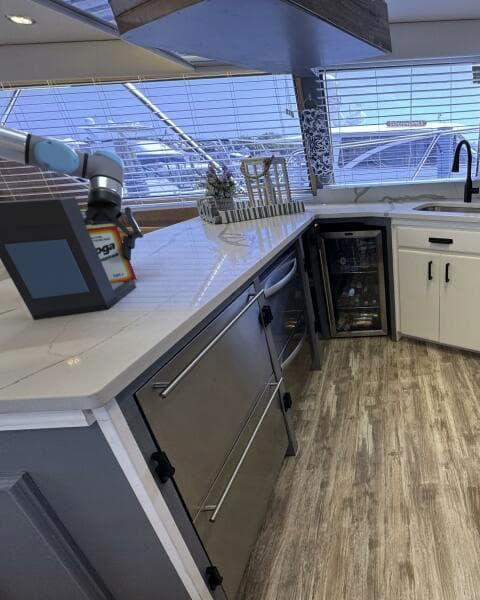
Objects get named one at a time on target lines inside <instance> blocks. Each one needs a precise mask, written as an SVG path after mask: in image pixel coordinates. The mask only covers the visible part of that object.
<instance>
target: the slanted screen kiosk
mask: <svg viewBox="0 0 480 600" xmlns="http://www.w3.org/2000/svg"><path fill="white" fill-rule="evenodd" d="M82 212H83V211H82V210H81V208H80V205H79V203H78V200H77V197H75V196H72V197H71V196H70V197H55V198H53V197H52V198H38V199H20V200H2V201H1V200H0V261H1V263H2V264H3V266H4V268H5V270H6V272H7V273H8V276H9V277H10V279H11V281H12V283H13V284H14V286H15V289H16V290H17V291H18V294H19V295H20V297H21V299H22V301H23V302H24V304H25V307H26V308H27V310H28V312H29V314H30V316H31V318H32V319H33V321H36V320H43V319H50V318H56V317H57V318H58V317H64V316H65V317H66V316H72V315H79V314H85V313H86V314H87V313H93V312H100V311H108V310H110V309H111V308H112V307H114V306H115V305H116V304H118V303H119V302H120V301H121V300H123V298H125V297H126V296H127V295H128V294H130V293H131V292H132V291H133V290H135V289H136V288H137V285H136V283H135V282H134V281H128V282H117V283H110V281H109V279H108V276H107V274H106V272H105V269H104V267H103V265H102V262H101V260H100V258H99V255H98V253H97V251H96V248H95V246H94V244H93V241H92V239H91V236H90V234H89V232H88V229H87V227H86V225H85V222H84V220H85V218H84V217H83V215H82Z"/></svg>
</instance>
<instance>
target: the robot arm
mask: <svg viewBox="0 0 480 600" xmlns="http://www.w3.org/2000/svg"><path fill="white" fill-rule="evenodd" d="M0 159H3V160H7V161H11V162H14V163H15V162H16V163H19V164H23V165H27V166H30V167H35V168H39V169H42V170H46V171H50V172H52V173H55V174H56V173H57V174H62V175H63V174H64V175H68V176H72V177H77V178H81V179H84V180H89V182H88V190H87V198H86V207H87V209H86V210H85V211H81V212H82V215H83V217H84V219H85V220H84V222H85V225H101V224H111V223H113V224H115V225H116V226H117V228H119V229H120V230H121V231H122V232H123V233H124V234H125V235H123V236H122V242H123V248H122V256H123V257H124V258H125V259H126V260H127V261H130V262H131V261H132V250H134V249H135V248H136V240H137V239H139V238H140V239H142V238H144V233H143V232H142V230H141V228H140V226H139V225H138V223H137V221H136V219H135V212H134V211H133V210H132V209H131V207H129V206H126V207H125V208H124V209H123V194H124V182H125V181H124V180H125V163H124V161H123V159H122V158H121V157H120V156H119V154H116V153H115V152H112V151H109V150H106V149H104V150H102V149H98V150H95V151H93V152H92V153H88V152H85V151H81V150H78V149H75V148H73V147H71V146H70V145H68V144H67V143H65V142H62V141H61V140H57V139H49V138H47V137H44V136H43V137H42V136H39V135H36V134H32V133H29V132H26V131H24V130H23V131H22V130H19V129H16V128H13V127H9V126H6V125H2V124H0ZM122 216H124V217H126V219H127V221H128V223H129V225H130V227H131V229H132V231H133V232H131V231H130V230H129V229H128V228H127V227H126V226H125V225H124V224H123V223H122V222H121V221H120V220H119V219H120V218H121V217H122Z"/></svg>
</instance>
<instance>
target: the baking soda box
mask: <svg viewBox="0 0 480 600" xmlns="http://www.w3.org/2000/svg"><path fill="white" fill-rule="evenodd" d="M86 227H87V229H88V232H89V234H90V236H91V239H92V241H93V244H94V246H95V248H96V251H97V253H98V255H99V258H100V260H101V262H102V265H103V267H104V269H105V272H106V274H107V276H108V279H109V281H110V283H117V282H123V283H128V282H133V281H136V280H137V277H136V273H135V271H134V268H133V266H132V262H131V261H127V260H126V259H125V258H124V257H123V256H122V248H123V238H122V236H121V235H120V231H119V229H118V226H117V225H116V224H115V223H111V224H101V225H86Z"/></svg>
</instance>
